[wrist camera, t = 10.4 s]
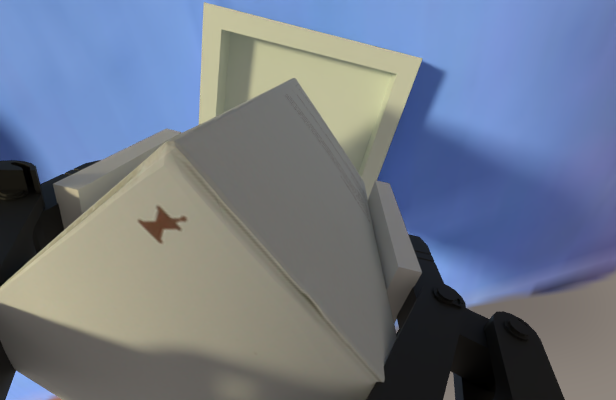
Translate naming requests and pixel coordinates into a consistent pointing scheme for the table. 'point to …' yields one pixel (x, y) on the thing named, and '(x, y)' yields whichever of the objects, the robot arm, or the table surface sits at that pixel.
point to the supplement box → (213, 272)
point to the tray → (308, 79)
